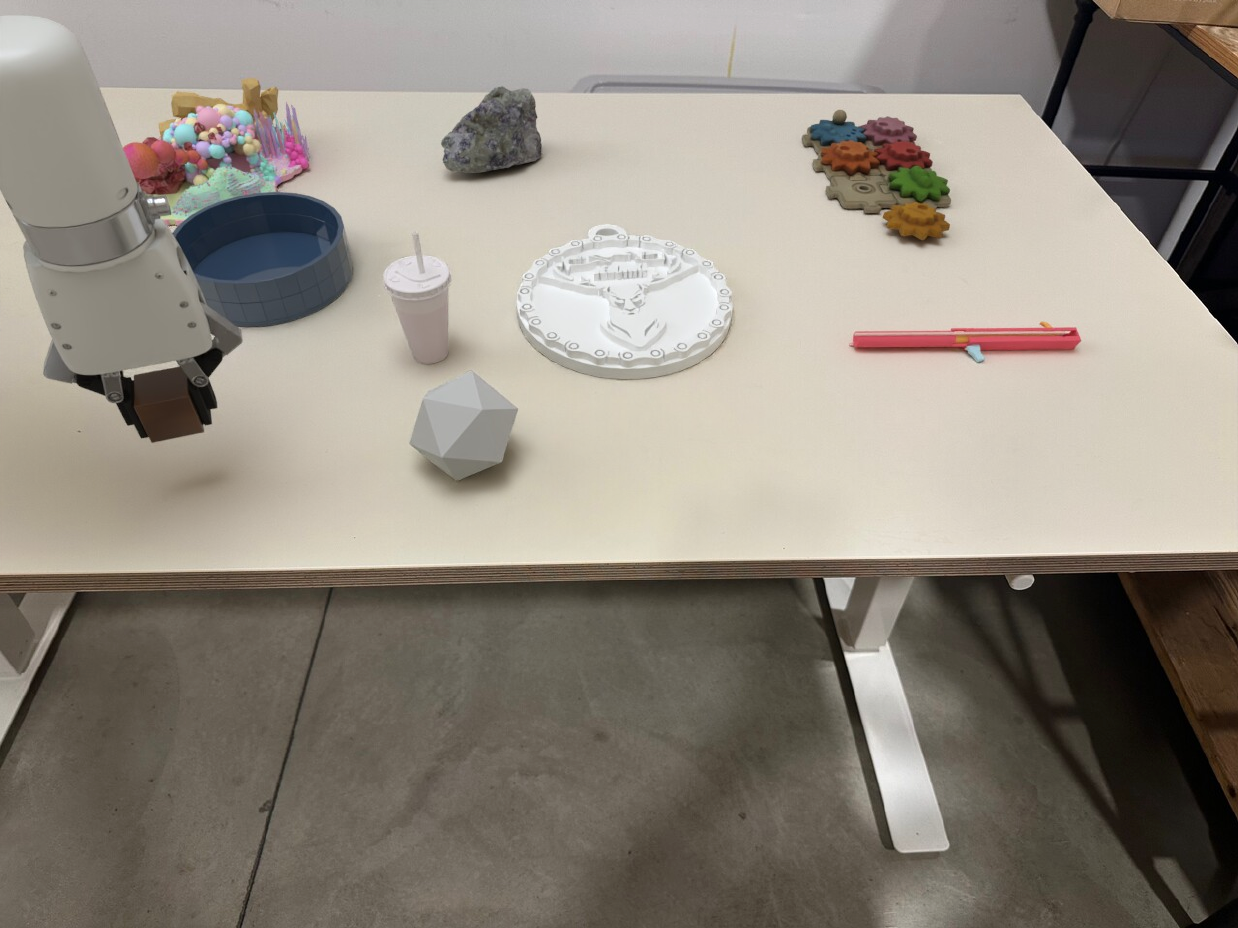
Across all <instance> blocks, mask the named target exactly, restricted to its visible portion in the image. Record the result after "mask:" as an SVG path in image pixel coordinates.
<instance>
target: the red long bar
mask: <svg viewBox="0 0 1238 928" xmlns="http://www.w3.org/2000/svg"><path fill="white" fill-rule="evenodd" d="M1039 325H1040V326H1042V327H986V328H985V327H982V328H979V327H978V328H977V327H976V328H974V327H952V328H950V330H876V331H875V330H874V331H873V330H870V331H868V330H866V331H862V330H861V331H860V330H858V331H857V330H856V331H854V333H853V336H852V342H849V343H848V345H849V347H854V348H924V347H925V348H938V347H939V348H943V347H944V348H945V347H947V348H948V347H949V348H950V347H952V348H962V350H963V351H967V354H968V355H970V356H971V357H972V358H973V359H974V361H975V362H976V363H981V362H984V360H986V357H985V356H984V355H983V354H982V352H981V351H1030V350H1032V351H1033V350H1034V351H1035V350H1036V351H1043V350H1045V349H1046V350H1047V349H1048V350H1074V349H1075V348H1076V347H1078V345H1079V344H1080V343H1081V342H1082V339H1081V336H1080V333H1079V331H1078V329H1077V327H1075V326H1074V327H1073V326H1071V327H1069V326H1068V327H1053V326H1052V325H1051V324H1049V323H1048V322H1046V321H1041V322H1040V323H1039Z"/></svg>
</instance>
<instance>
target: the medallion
mask: <svg viewBox="0 0 1238 928" xmlns="http://www.w3.org/2000/svg"><path fill="white" fill-rule="evenodd" d="M714 264H715V263H714V262H713V261H712V260H710V259H707V258H704V257H702V256H701V255H699V253H698V251H696V250H695V249H693V248H687V247H685V246H682V245H679V244H677V243H676V241H674V240H671V239H659V238H655V237H654V236H652V235H649V234H644V235H634V234H633V235H632V234H628V233H627V231H626V229H624V228H623V227H621V226H619V225H616V224H611V223H602V224H598V225H595V226H593V227H591V228H590V229H589V230H588V232H587V238H582V239H580V240H579V239H572V240H570V241H568V242H567V243H566V244H564V245H561V246H558V247H557V246H556V247H551V248H550V249H549V250H548V252H547V253H546V254H545V255H544V256H542V257H540V258H536V259H534V260H533V261H532V266H531V267H530V269H529V270H527V271H525V272H524V273H523V274H522V275H521V277H522V278H521V280H522V281H521V283H520V285H519V287H518V289H517V294H516V314H517V320H518V323H519V328H520V330H521V332H522V333H523V335H524V337H525V339H526V340H527V341H528V343H530V345H531V346H533V348H534V349H535V350H536V351H537V352H539V353H540V354H541V355H542V356H545V357H546V358H547V359H549V360H550V361H552V362H553V363H556V364H558V365H560V366H562V367H564V368H566V369H568V370H572V371H574V372H577V373H580V374H583V375H589V376H593V377H597V378H598V377H599V378H603V379H613V380H614V379H615V380H644V379H652V378H659V377H665V376H668V375H672V374H674V373H678V372H682V371H684V370H687V369H689V368H691V367H693V366H695V365H697V364H699V363H700V362H702V361H704V360H705V359H708V357H710V356H711V355H713V353H714V352H715V351H716V350H717V349H718V348H719V347H721V345H722V343H723V342H724V340H726V337H727V336H728V333H729V330H730V327H731V324H732V317H733V307H734V306H733V305H734V304H733V298H732V297H733V296H732V295H733V291H732V289H730V288H729V287H728V285H727V283H726V280H727V279H726V277H727V276H726V275H725V274H723V273H722V272H720V271H719V270H717V268H716V267H715V265H714Z"/></svg>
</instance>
